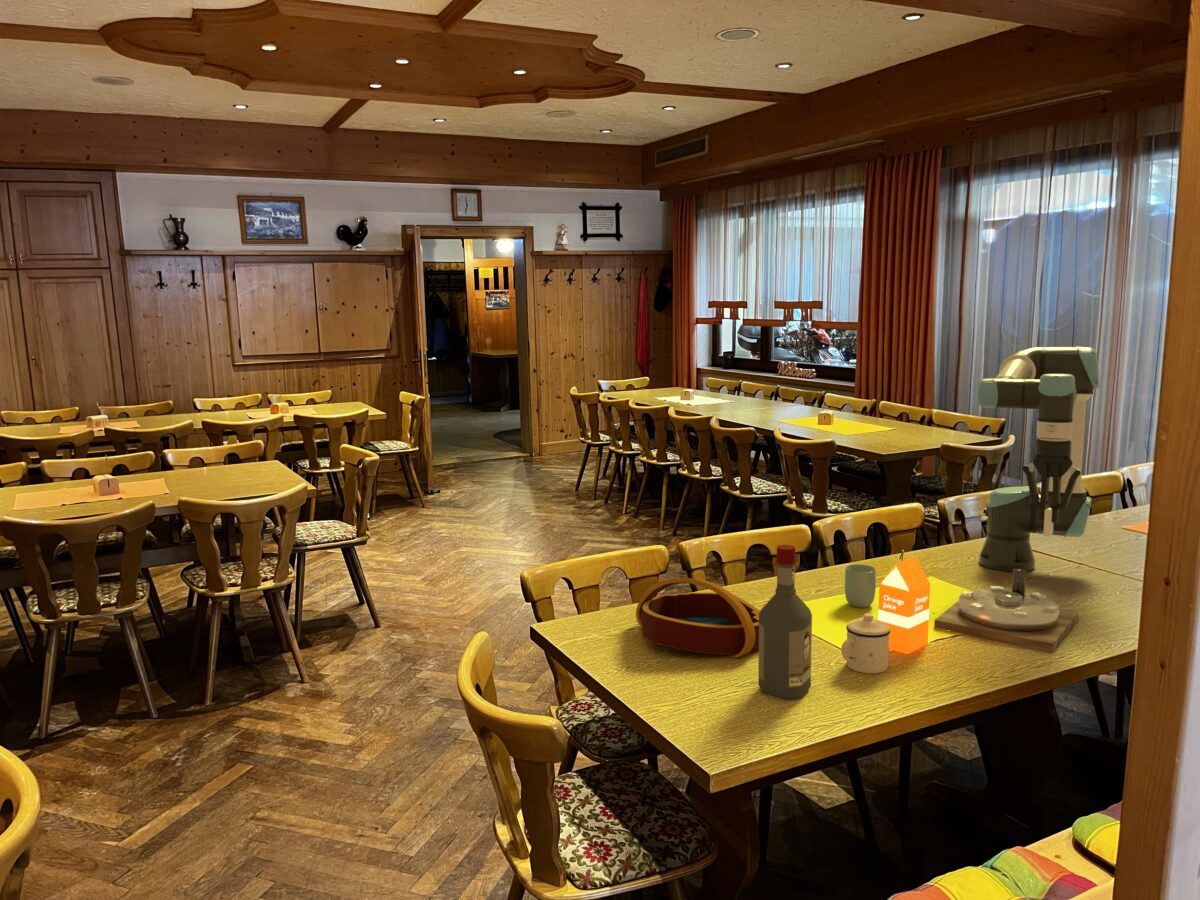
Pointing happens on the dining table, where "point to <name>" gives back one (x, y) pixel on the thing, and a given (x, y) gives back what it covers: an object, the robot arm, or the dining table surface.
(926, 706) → the dining table surface
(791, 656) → the liquor
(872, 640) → the teacup with lid
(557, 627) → the dining table surface
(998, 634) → the base plate
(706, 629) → the decorative basket
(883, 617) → the orange juice
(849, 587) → the cup
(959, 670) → the dining table surface
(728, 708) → the dining table surface
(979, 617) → the crank wheel
